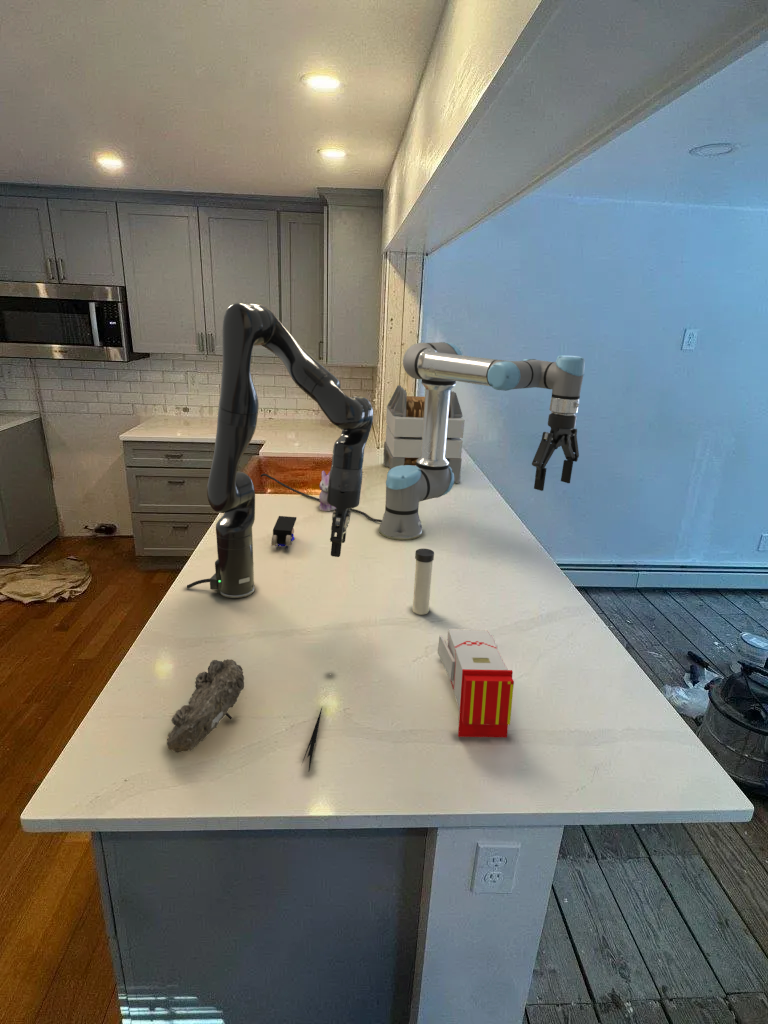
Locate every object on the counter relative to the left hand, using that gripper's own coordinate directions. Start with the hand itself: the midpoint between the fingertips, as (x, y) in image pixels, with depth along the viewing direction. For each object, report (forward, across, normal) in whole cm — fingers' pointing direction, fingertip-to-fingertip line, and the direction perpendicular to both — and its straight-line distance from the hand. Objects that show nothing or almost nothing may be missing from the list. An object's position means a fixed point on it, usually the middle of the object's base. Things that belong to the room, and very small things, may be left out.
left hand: (337, 548), depth 135 cm
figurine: (+21, -85, -14) cm, 88 cm away
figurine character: (+22, -47, -22) cm, 56 cm away
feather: (+20, +35, +4) cm, 41 cm away
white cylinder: (+18, -9, +23) cm, 31 cm away
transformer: (+17, -142, +21) cm, 145 cm away
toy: (+18, +23, +33) cm, 44 cm away
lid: (+2, -9, +21) cm, 23 cm away
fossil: (+22, +37, -17) cm, 46 cm away
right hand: (-13, -38, +57) cm, 69 cm away
